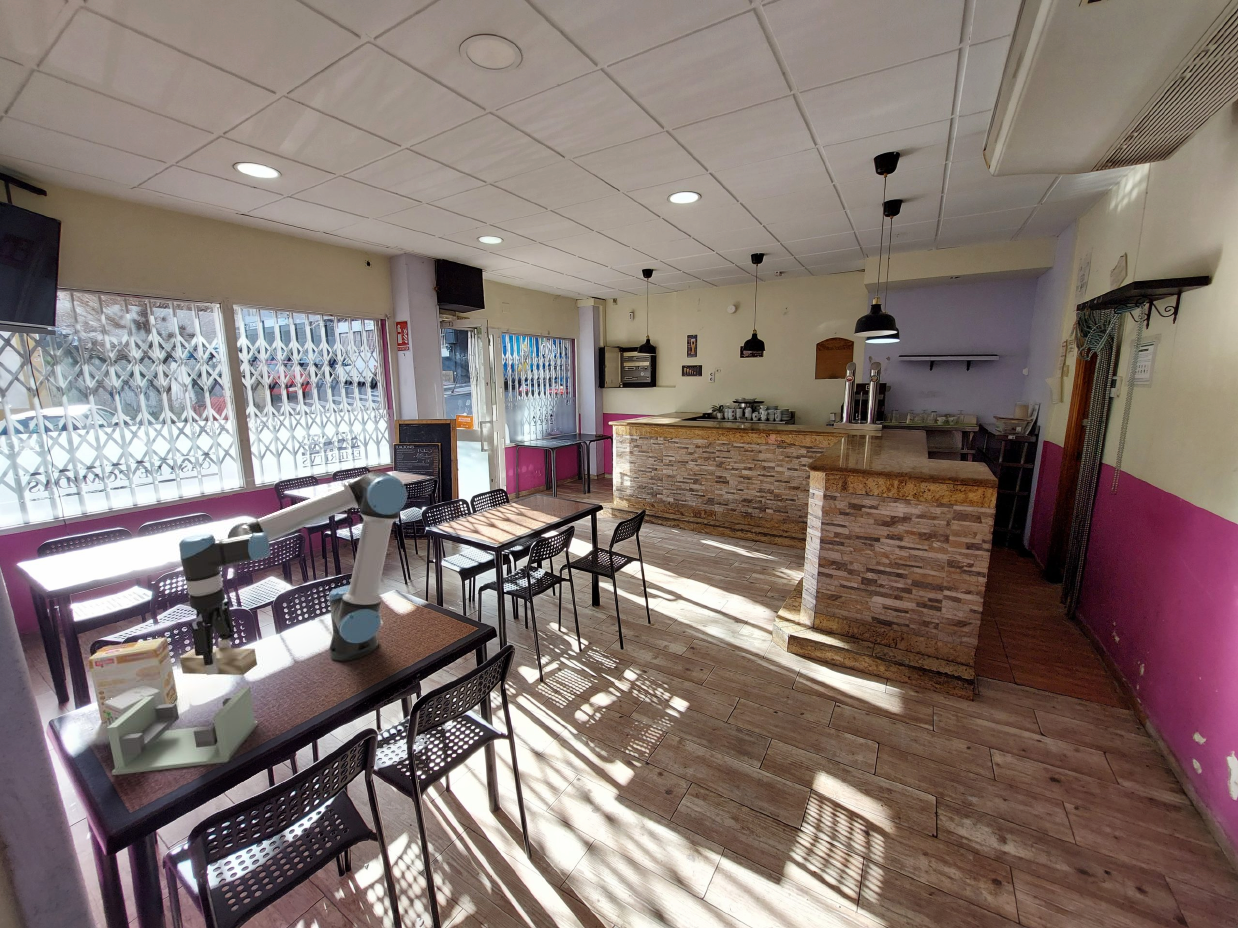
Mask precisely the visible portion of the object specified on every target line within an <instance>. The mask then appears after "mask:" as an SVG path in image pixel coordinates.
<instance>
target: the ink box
mask: <svg viewBox="0 0 1238 928" xmlns="http://www.w3.org/2000/svg"><path fill="white" fill-rule="evenodd" d="M149 696H154V699H155V704H156V707H158V706H159V705H163V703H162V698H161V693H160V690H157V689H154V688H151V687H148V686H145V685H139V686H137V687H135V688H133V689H131V690H129V691H127V692H125V693H122V694H120V695H118V696H116V697H114V698H112V699H109V700H107V701H105V702H104V706H105V711H106V716H107V721H106V722H107V726H108V727H109V726H110V725H111V724H112V723H114V722H115V721H116V720H117V719H119V718H120V717H121V716H122V715H124V714H125V713H126V712H127V711H128V710H130V709H131V708H132V707H133V706H135V705H136V704H137V703H138V702H140V701H141V700H142V699H143V698H145V697H149Z"/></svg>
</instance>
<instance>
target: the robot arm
mask: <svg viewBox="0 0 1238 928" xmlns="http://www.w3.org/2000/svg"><path fill="white" fill-rule="evenodd" d="M407 499H408V492H407V488H406V487H405V485H404V483H403V482H402V481H401V480H400V479H399V478H397V477H396V476H394V475H391V474H390V473H388V472H386V471H382V470H376V471H371V472H367V473H365V474H362V475H360V476H358V477H355V478H353V479H351V480H348V481H345V482H343V485H342V486H340V487H338V488H335V489H333V490H330V491H328V492H325V493H322V494H319V495H317V496H314V497H312V498H309V499H307V500H304V501H302V502H300V503H296V504H294V505H291V506H289V507H286V508H283V509H281V510H278V511H276V512H273V513H270V514H267V515H265V516H263V517H260V518H258V519H256V520H252V521H249V522H239V523H237V524H235V525H233V527H231V529H230V531H229V533H227V538H224V539H216V538H215V537H214V535H213V534H211V533H205V534H196V535H195V534H194V535H192V536H187V537H185V538H183V539H182V540H180V542H179V544H178V546H179V553H180V561H181V565H182V570H183V575H184V578H185V579H184V580H185V584H186V589H187V594H189V595H188V602H189V605H190V608H191V609H193V610H195V611H196V615H195V617H196V618H195V620H194V621H189V624H188V626H189V628H190V630H191V635H192V642H193V649H195V655H196V656H202V655H203V659H204V664H205V667H206V672H207V674H206V675H207V676H209V675H210V676H212V675H219V674H218V673H219V667H218V662H217V656H216V651H213V648H214V631H216V634H217V636H218V638H219V640H217V644H218V645H217V646H218V648H232V643H231V639H233V638H234V636H235V634H234V633H235V628H234V622H233V619H232V618H233V617H232V615H231V608H230V601H229V600H226V596H225V595H226V594H225V590H224V587H223V586H224V583H223V578H222V573H221V567H227V566H233V565H237V564H243V563H248V562H253V561H254V562H255V561H259V560H262V559H266V558H268V557H270V556H271V548H270V541H273V540H274V539H275V540H276V539H277V538H280V537H282V536H285V535H287V534H290V533H292V532H294V531H297V530H300V529H302V528H304V527H307V526H309V525H312V524H315V523H316V522H319V521H321V520H324V519H327V518H329V517H331V516H334V515H336V514H337V515H338V514H339V513H341V512H345V511H346V510H348V509H351V508H355V509H359V508H360V510H359V514H360V515H361V517H362V519H363V522H362V526H361V531H360V536H359V541H358V545H357V551H356V555H355V560H354V564H353V565H354V566H353V568H352V569H353V570H352V575H351V579H350V584H348V585H344V586H340V587H337V588H334V589H333V590H331V591H330V592H329V594H328V602H329V608H330V618H331V619H330V620H331V625H332V626H331V627H332V637H331V640H330V644H329V648H328V649H329V650H328V653H329V657H330V659H332V660H334V661H339V662H342V661H343V662H345V661H353V660H357V659H361V658H363V657H366V656H367V655H369V654H371V653H372V652H374V651H375V650H376V649H377V648H378V646H379V639H378V636H377V634H378V632H379V631H380V628H381V625H382V621H381V620H382V619H381V615H380V610H381V605H382V596H381V595H380V594H379V590H380V584H381V579H382V575H383V570H384V566H385V561H386V557H387V556H386V555H387V551H388V547H389V541H390V535H391V531H392V527H393V523H395V522H396V521H397V520H398V519H399V516H400V513H401V510H402V508H404V506H405V504H406V502H407ZM214 629H215V630H214Z"/></svg>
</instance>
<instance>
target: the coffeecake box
mask: <svg viewBox="0 0 1238 928" xmlns="http://www.w3.org/2000/svg"><path fill="white" fill-rule="evenodd" d="M87 660H88V664H89V670H90V674H91V675H90V676H91V680H92V683H93V689H94V693H95V698H96V702H97V707H98V712H99V717H100V718H99V719H100V721H101V723H106V722H108V721H107V716H106V711H105V706H104V702H105V701H107V700H109V699H111V698H114V697H116V696H118V695H120V694H122V693H125V692H127V691H129V690H131V689H133V688H135V687H137V686H139V685H145V686H148V687H151V688H154V689H157V690H160V693H161V698H162V703H163V705H164V704H174V703H175V700H176V699H177V698H178V691H177V687H176V685H177V684H176V680H175V675H174V669H173V664H172V663H173V662H172V657H171V653H170V648H169V643H168V637H161V638H154V639H147V640H142V641H137V642H129V643H122V644H117V645H109V646H102V648H100V649H99V650H97V652H95V653H94V654H92V655H91V656H90V657H89V658H88V659H87Z"/></svg>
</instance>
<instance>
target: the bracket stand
mask: <svg viewBox="0 0 1238 928" xmlns="http://www.w3.org/2000/svg"><path fill="white" fill-rule="evenodd" d="M179 718H180V716H179V710H178V704H177V702H176V703H175V702H173V703H172V704H164V705H159V706H158V707H156V704H155V699H154V696H149V697H145V698H143V699H142V700H141V701H140V702H138V703H137V704H136V705H135V706H133V707H132V708H131V709H130V710H128V711H127V712H126V713H125V714H124V715H122V716H121V717H120V718H119V719H117V720H116V721H115V722H114V723H112V724H111V725H110V726H108V727H106V730H107V735H108V739H109V745H110V750H111V753H112V758H113V764H114V769H113V770H112V771H111V775H112V776H116V775H117V776H118V775H126V774H127V775H128V774H135V773H142V772H150V771H151V772H152V771H159V770H160V771H161V770H168V769H177V768H186V767H194V766H196V767H197V766H202V765H212V764H221V763H228V761H230V759H231V758H232V756H234V754H235V753H236V751H238V749H239V748H240V747H241V746H242V744H243V743H244V742H245V741H246V740H247V738H248V737H249V736H250V734H251V733H252V732H253V731H254V729H255V728H256V727H257V726H258V724H259V723H258V721H257V720H256V719H255V713H254V704H253V700H252V693H251V686H245V687H244V686H243V687H240V688H239V690H238V691H237V692H236V693H235V694H234V695H233V696H232V697H227V698H225V699H224V700H223V701H222V707H221V708H220V709H219V711H218V712H217V713H216V714H215V715H214V716H213V723H211V725H207V726H205V725H204V726H197V727H185V728H177V729H169V728H170V727H172V726H173V725H174V724H175V723H176V722H177V721H178V720H179Z"/></svg>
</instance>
